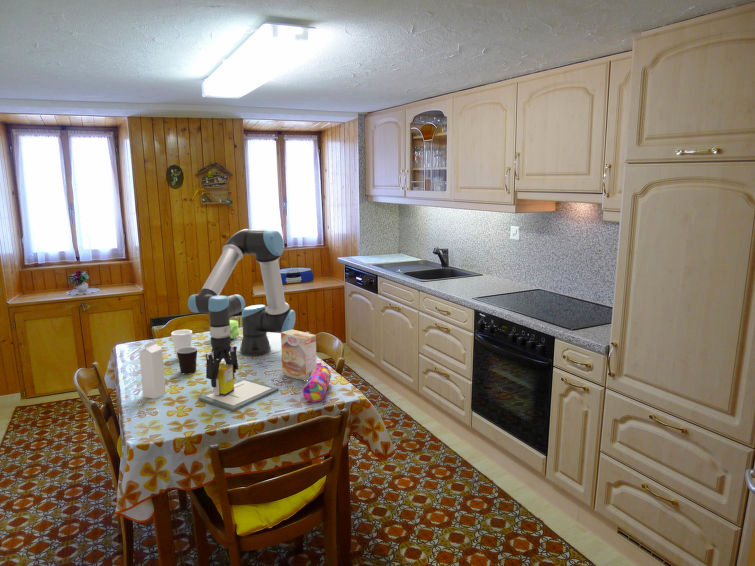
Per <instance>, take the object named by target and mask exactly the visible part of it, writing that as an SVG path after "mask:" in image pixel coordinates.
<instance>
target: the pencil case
mask: <svg viewBox="0 0 755 566" xmlns="http://www.w3.org/2000/svg"><path fill="white" fill-rule="evenodd" d="M331 376H332V374H331V371H330V368H329V367H328V366H326V365H324V364H322V362H318V363H317V362H316V367H315V368H314V369H313V370H312V371H311V372H310V374H309V379H308V381H307V382H306V384H305V385H304V386H303V387H302V393H303V396H304V398H305V399H306V400H307V401H308V402H310V401H311V403H318V402H317V401H319V402H321V401H322V400H323V399H324V398H325V395H326V392H327V390H328V387H329V385H330V382H331V378H332V377H331Z"/></svg>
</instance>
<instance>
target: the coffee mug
mask: <svg viewBox="0 0 755 566" xmlns="http://www.w3.org/2000/svg"><path fill="white" fill-rule="evenodd" d="M177 355H178V360H177V361H178V366H179V369H180V373H181V374H182V373H184V374H183V375H189V373H191V374H194V373H196V372H197V361H198V359H197V358H198V348H197V347H193V346H191V347H186V348H181V349H179V350H177ZM195 371H196V372H195Z"/></svg>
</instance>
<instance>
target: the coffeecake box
mask: <svg viewBox="0 0 755 566" xmlns="http://www.w3.org/2000/svg"><path fill="white" fill-rule="evenodd" d="M280 340H281V341H280V343H281V347H280V348H281V349H280V350H281V371H282V372H281V373H282V374H283V375H282V376H285V375H287V376H286V377H289V376H290V377H289V378H292V377H293V378H292V379H295V378H297V379H296V380H298V379H301V380H305V381H307V380H308V379H309V374H310V372H311V371H312V370H313V369H314V368H315V367H316V364H317V335H316V334H313V333H309V332H305V331H300V330H296V329H294V328H293V329H291V330H288V331H284V332H281V333H280ZM301 380H300V381H301ZM305 381H304V382H305ZM307 382H308V381H307Z"/></svg>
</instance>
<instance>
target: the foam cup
mask: <svg viewBox="0 0 755 566" xmlns="http://www.w3.org/2000/svg"><path fill="white" fill-rule="evenodd" d="M170 334H171V335H170V336H171V337H170V338H171V339H172V345H173V348H174V352H175V358H176V360H177V359H178V355H177V350H179V349H181V348H186V347H192V341H193V330H191V329H177V330H173V331H172V332H171V333H170Z"/></svg>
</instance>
